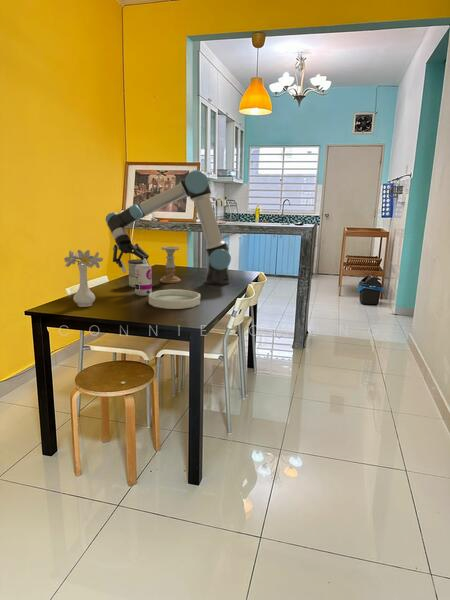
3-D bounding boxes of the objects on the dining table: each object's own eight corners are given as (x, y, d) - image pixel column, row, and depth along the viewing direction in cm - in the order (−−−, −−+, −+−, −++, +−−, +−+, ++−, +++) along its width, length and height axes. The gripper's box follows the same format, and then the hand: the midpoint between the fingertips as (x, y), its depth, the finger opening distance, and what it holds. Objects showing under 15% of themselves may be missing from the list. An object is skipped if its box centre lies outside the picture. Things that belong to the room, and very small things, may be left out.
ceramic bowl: (200, 296, 208) (200, 290, 207) (200, 309, 184) (200, 301, 183) (152, 295, 206) (152, 289, 205) (146, 308, 183) (146, 300, 182)
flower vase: (108, 301, 192) (106, 248, 187) (86, 311, 175) (83, 253, 169) (83, 299, 195) (80, 246, 189) (59, 308, 178) (55, 251, 172)
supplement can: (154, 293, 212) (154, 264, 209) (146, 296, 205) (146, 266, 201) (140, 291, 215) (140, 263, 211) (132, 294, 207) (131, 265, 204)
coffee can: (132, 283, 235) (131, 258, 232) (149, 284, 234) (149, 259, 231) (126, 286, 225) (125, 261, 222) (144, 287, 224) (144, 262, 221)
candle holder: (167, 278, 251) (167, 245, 246) (184, 281, 246) (184, 247, 242) (155, 282, 240) (155, 247, 236) (173, 284, 235) (173, 249, 231)
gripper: (139, 241, 227) (154, 272, 220) (97, 244, 211) (112, 277, 204) (144, 233, 222) (160, 264, 215) (101, 234, 206) (117, 268, 199)
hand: (137, 270), depth 209 cm, fingers open, 13 cm apart
